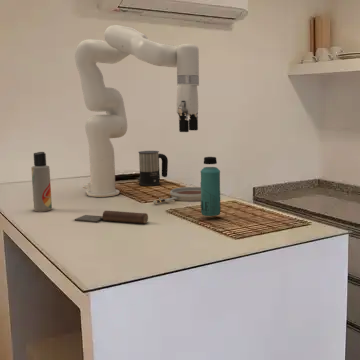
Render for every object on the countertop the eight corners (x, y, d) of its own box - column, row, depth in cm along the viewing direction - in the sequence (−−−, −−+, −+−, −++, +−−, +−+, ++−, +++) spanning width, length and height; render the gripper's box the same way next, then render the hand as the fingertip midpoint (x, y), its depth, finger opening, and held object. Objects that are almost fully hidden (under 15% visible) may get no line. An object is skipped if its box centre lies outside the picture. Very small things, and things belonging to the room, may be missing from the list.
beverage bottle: (223, 216, 161) (223, 156, 158) (216, 221, 155) (216, 158, 151) (205, 215, 163) (205, 155, 160) (197, 219, 157) (196, 157, 154)
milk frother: (150, 186, 215) (149, 153, 212) (123, 183, 223) (122, 150, 221) (171, 182, 227) (170, 150, 224) (145, 179, 235) (144, 148, 233)
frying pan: (138, 195, 183) (190, 184, 204) (138, 203, 183) (191, 191, 205) (170, 201, 172) (222, 189, 194) (170, 210, 173) (222, 196, 195)
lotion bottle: (55, 209, 171) (52, 151, 167) (42, 212, 166) (39, 153, 162) (43, 207, 173) (39, 150, 170) (30, 210, 168) (26, 152, 165)
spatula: (74, 220, 155) (74, 210, 154) (85, 216, 161) (85, 206, 160) (141, 226, 149) (141, 215, 148) (150, 221, 155) (149, 211, 154)
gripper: (186, 82, 179) (187, 129, 182) (168, 80, 162) (169, 132, 165) (206, 82, 177) (206, 129, 180) (190, 80, 160) (190, 132, 163)
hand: (188, 131), depth 172 cm, fingers open, 9 cm apart
